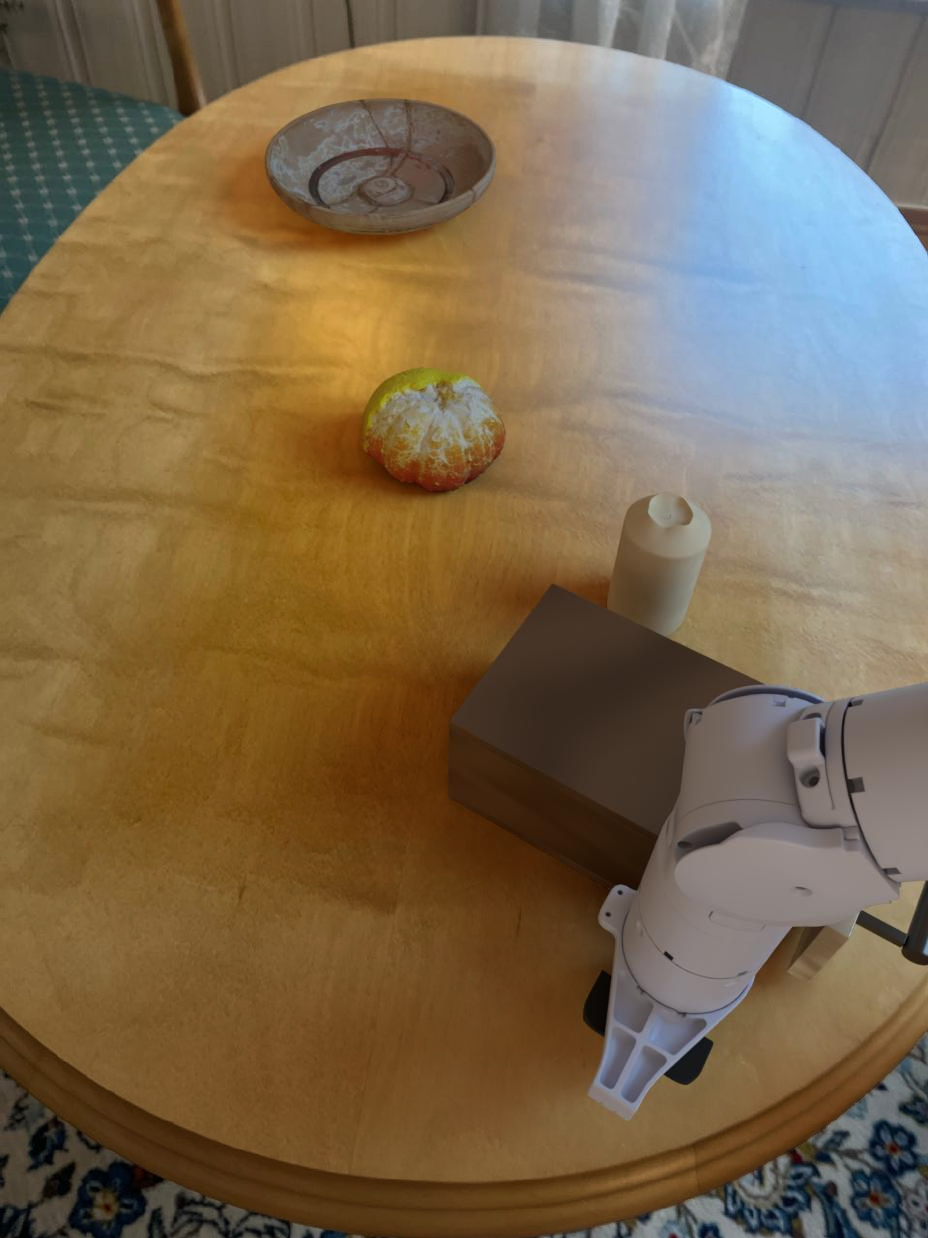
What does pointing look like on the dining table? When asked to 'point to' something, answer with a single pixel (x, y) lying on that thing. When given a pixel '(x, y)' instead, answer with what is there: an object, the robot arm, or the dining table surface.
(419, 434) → the fruit
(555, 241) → the dining table surface
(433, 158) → the ceramic bowl
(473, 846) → the dining table surface
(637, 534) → the beige bottle
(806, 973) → the drawer
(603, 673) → the cabinet
